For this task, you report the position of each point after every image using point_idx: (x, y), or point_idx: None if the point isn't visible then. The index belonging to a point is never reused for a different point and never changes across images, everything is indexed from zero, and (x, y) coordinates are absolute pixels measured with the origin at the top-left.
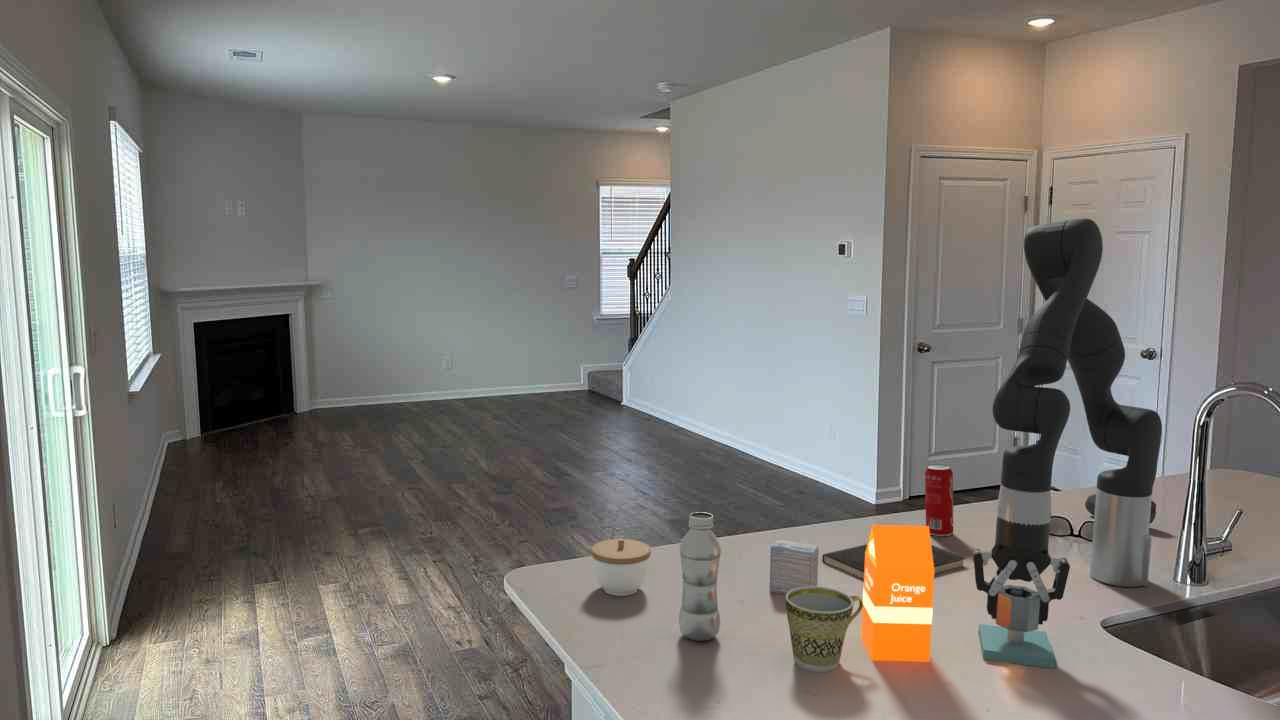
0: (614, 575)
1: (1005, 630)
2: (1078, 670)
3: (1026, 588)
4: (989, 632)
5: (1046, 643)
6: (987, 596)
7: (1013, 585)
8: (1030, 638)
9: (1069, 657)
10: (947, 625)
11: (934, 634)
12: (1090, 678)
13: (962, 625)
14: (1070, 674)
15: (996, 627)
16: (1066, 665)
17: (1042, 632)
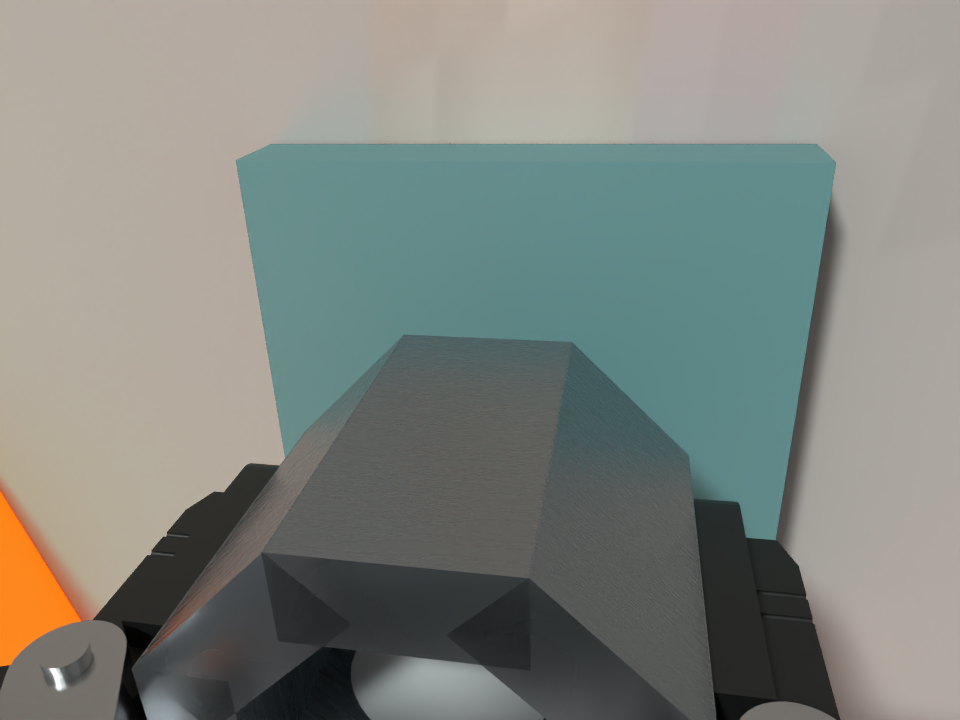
0: None
1: (454, 248)
2: (916, 587)
3: (550, 640)
4: (329, 325)
5: (767, 417)
6: (112, 600)
7: (349, 570)
8: (648, 355)
9: (929, 413)
10: (37, 73)
11: (6, 279)
12: (955, 668)
13: (138, 27)
14: (836, 641)
15: (380, 204)
16: (853, 536)
17: (797, 186)
